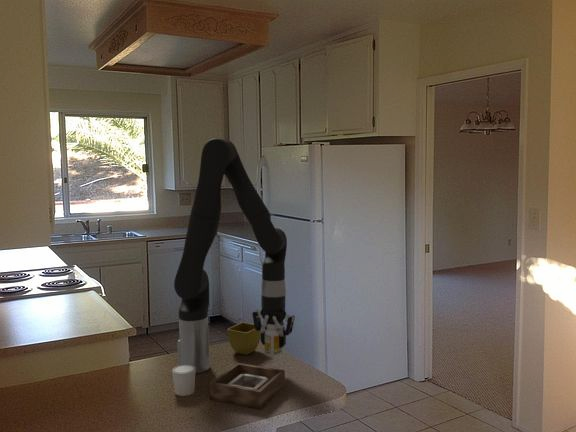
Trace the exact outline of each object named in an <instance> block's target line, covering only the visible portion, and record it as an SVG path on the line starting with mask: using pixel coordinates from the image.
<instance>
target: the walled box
mask: <svg viewBox="0 0 576 432" xmlns="http://www.w3.org/2000/svg"><path fill="white" fill-rule="evenodd" d="M285 372H286V370H284V369H278V368H273V367H272V368H271V367H266V366H260V365H259V366H258V365H254V364H253V365H252V364H247V363H240V362H237V363H235V364H234V365H233V366H231V367H230V368H229V369H227V370H226V371H224V372H223V373H221V374H220V375H219V376H217V377H216V378H214V379H213V380H211V382H209V400H210V401H215V402H220V403H222V404H230V405H233V406H240V407H245V408H250V409H255V410H262V409H263V408H264V407H265V406H266V405H267V404H268V403H269V402H271V400H272V399H273V398H274V397H276V396H277V395H278V394H279V393H280V392H281V391H282V390H283V389H284V388H286V376H285V374H286V373H285Z"/></svg>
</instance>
